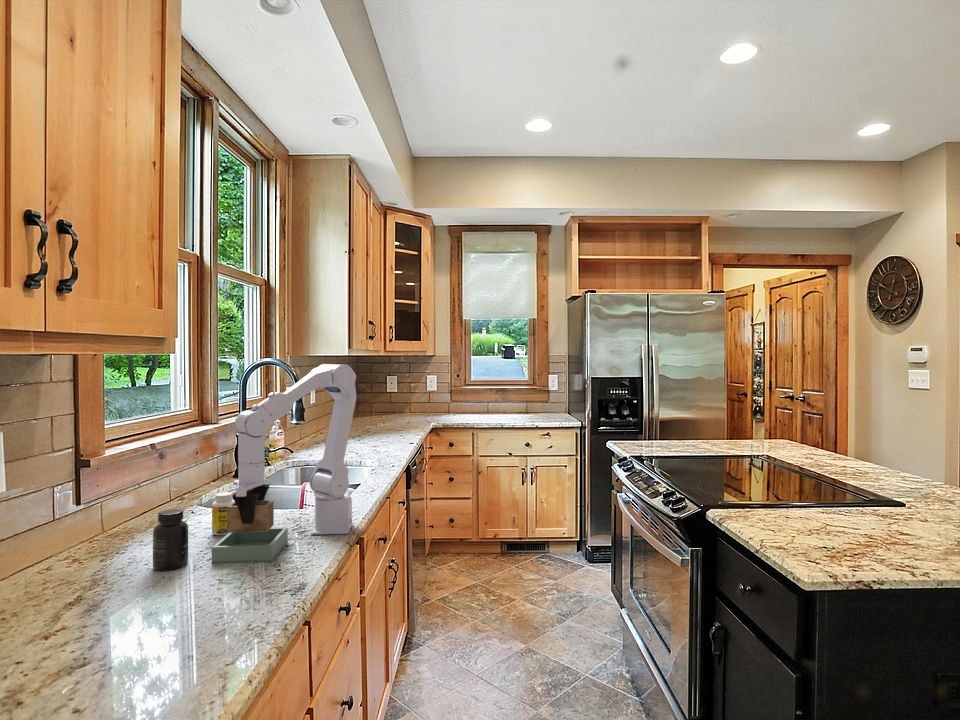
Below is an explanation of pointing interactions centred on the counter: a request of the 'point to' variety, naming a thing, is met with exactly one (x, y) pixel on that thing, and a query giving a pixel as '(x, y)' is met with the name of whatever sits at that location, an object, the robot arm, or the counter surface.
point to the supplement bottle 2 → (220, 513)
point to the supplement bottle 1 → (170, 541)
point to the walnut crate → (260, 522)
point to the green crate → (250, 546)
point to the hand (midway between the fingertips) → (251, 519)
